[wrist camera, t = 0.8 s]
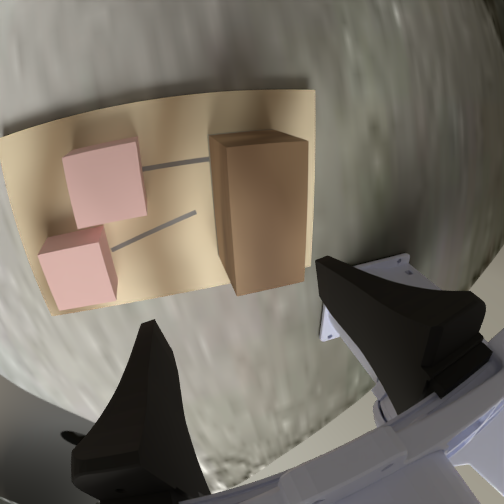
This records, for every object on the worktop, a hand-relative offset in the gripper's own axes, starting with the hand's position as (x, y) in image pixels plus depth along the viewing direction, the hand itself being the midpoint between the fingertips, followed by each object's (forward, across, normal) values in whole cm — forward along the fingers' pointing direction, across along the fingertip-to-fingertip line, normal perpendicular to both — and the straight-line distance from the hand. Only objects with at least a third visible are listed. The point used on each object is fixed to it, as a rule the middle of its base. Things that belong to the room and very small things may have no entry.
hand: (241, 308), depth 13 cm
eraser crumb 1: (+8, +4, -5) cm, 11 cm away
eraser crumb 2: (+8, +8, -1) cm, 12 cm away
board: (+9, +2, -2) cm, 10 cm away
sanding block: (+8, -3, -1) cm, 9 cm away
